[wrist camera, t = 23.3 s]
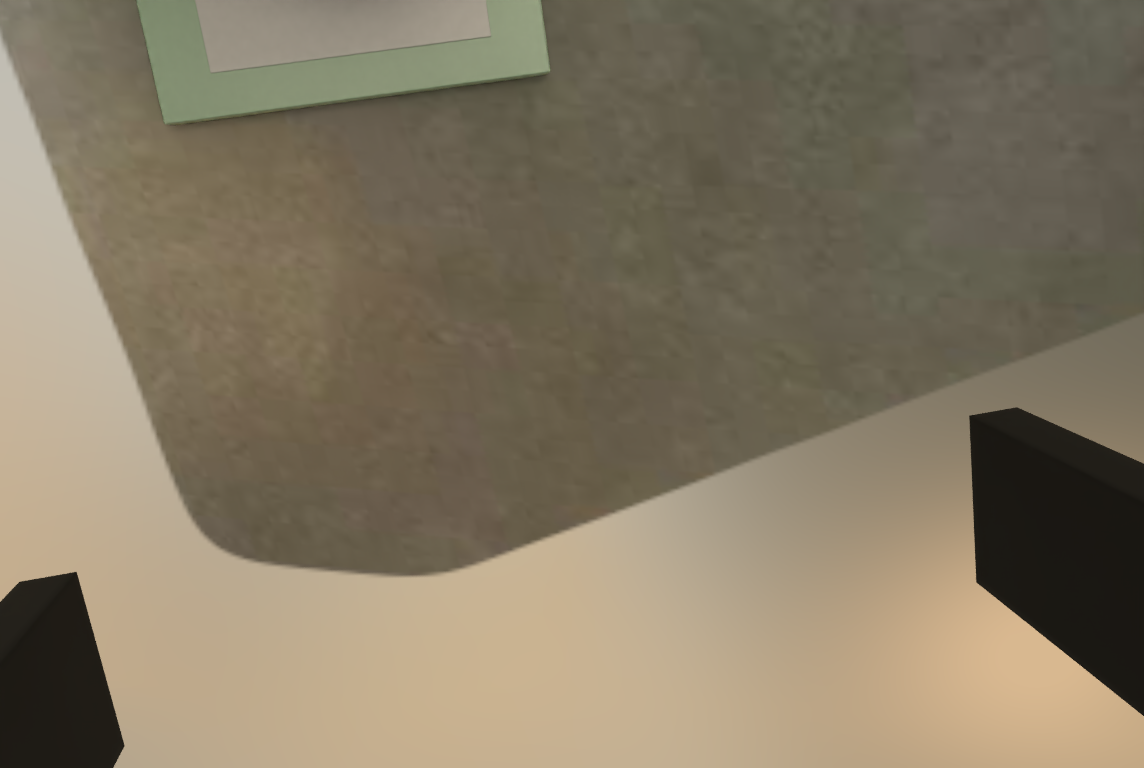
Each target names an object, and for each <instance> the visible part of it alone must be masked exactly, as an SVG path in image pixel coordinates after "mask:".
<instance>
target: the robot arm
mask: <svg viewBox="0 0 1144 768" xmlns="http://www.w3.org/2000/svg"><path fill="white" fill-rule="evenodd" d="M969 417H970V441H971V465H972V487H973V509H974V510H973V512H974V534H975V535H974V536H975V560H976V582H977V583H978V584H979V585H981V586H982V587H983V588H984V589H986V590H987V591H988V592H989V593H991V594H992V595H993V596H994V597H996V598H997V599H998V600H999V601H1001V602H1002V603H1003V604H1004V605H1006V606H1007V607H1008V608H1009V609H1011V610H1012V611H1013V612H1014V613H1016V614H1017V615H1018V616H1019V617H1021V618H1022V619H1023V620H1024V621H1026V622H1027V623H1028V624H1030V625H1031V626H1032V627H1033V628H1035V629H1036V630H1037V631H1038V632H1039V633H1041V634H1042V635H1043V636H1044V637H1046V638H1047V639H1048V640H1049V641H1051V642H1052V643H1053V644H1054V645H1056V646H1057V647H1058V648H1059V649H1061V650H1062V651H1063V652H1064V653H1066V654H1067V655H1068V656H1069V657H1071V658H1072V659H1073V660H1074V661H1076V662H1077V663H1078V664H1079V665H1081V666H1082V667H1083V668H1084V669H1086V670H1087V671H1088V672H1090V673H1091V674H1092V675H1093V676H1095V677H1096V678H1097V679H1098V680H1099V681H1101V682H1102V683H1103V684H1104V685H1106V686H1107V687H1108V688H1109V689H1111V690H1112V691H1113V692H1114V693H1116V694H1117V695H1118V696H1119V697H1121V698H1122V699H1123V700H1124V701H1126V702H1127V703H1128V704H1129V705H1131V706H1132V707H1133V708H1134V709H1136V710H1137V711H1138V712H1139V713H1141V714H1142V715H1143V716H1144V464H1143V463H1141V462H1139V461H1136V460H1134V459H1132V458H1130V457H1127V456H1125V455H1123V454H1120V453H1118V452H1116V451H1114V450H1112V449H1109V448H1107V447H1105V446H1102V445H1100V444H1098V443H1096V442H1094V441H1091V440H1089V439H1087V438H1084V437H1082V436H1080V435H1078V434H1076V433H1073V432H1071V431H1069V430H1066V429H1064V428H1062V427H1060V426H1058V425H1055V424H1053V423H1051V422H1049V421H1046V420H1044V419H1042V418H1039V417H1037V416H1035V415H1033V414H1031V413H1028V412H1026V411H1024V410H1022V409H1019V408H1011V409H1005V410H1000V411H994V412H988V413H982V414H977V415H971V416H969ZM123 748H124V742H123V739H122V735H121V731H120V728H119V724H118V720H117V717H116V713H115V710H114V706H113V702H112V699H111V695H110V691H109V688H108V685H107V681H106V677H105V673H104V670H103V666H102V662H101V659H100V655H99V652H98V648H97V645H96V641H95V637H94V633H93V630H92V627H91V623H90V619H89V616H88V612H87V608H86V605H85V601H84V597H83V594H82V590H81V586H80V583H79V579H78V575H77V572H74V573H68V574H62V575H56V576H51V577H45V578H39V579H34V580H28V581H22V582H19V583H18V584H17V585H16V586H15V587H14V588H13V589H12V590H11V591H10V592H9V593H8V594H7V596H6V597H5V598H4V599H3V600H2V601H1V602H0V768H113V767H114V765H115V763H116V761H117V759H118V757H119V755H120V753H121V752H122V750H123Z"/></svg>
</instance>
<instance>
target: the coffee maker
mask: <svg viewBox="0 0 1144 768" xmlns="http://www.w3.org/2000/svg"><path fill="white" fill-rule="evenodd" d="M136 2H137V7H138V11H139V15H140V20H141V24H142V29H143V33H144V37H145V42H146V46H147V51H148V55H149V59H150V64H151V68H152V73H153V77H154V81H155V86H156V90H157V95H158V99H159V103H160V108H161V112H162V116H163V121H164V124H168V125H181V124H188V123H195V122H203V121H210V120H217V119H225V118H232V117H239V116H247V115H254V114H262V113H269V112H276V111H284V110H291V109H298V108H306V107H313V106H320V105H328V104H335V103H342V102H350V101H357V100H365V99H372V98H379V97H387V96H394V95H401V94H409V93H416V92H423V91H431V90H438V89H446V88H453V87H460V86H468V85H475V84H482V83H490V82H497V81H504V80H512V79H519V78H526V77H534V76H541V75H546V74H547V73H549V72H550V63H549V56H548V49H547V41H546V34H545V27H544V19H543V12H542V5H541V0H136Z"/></svg>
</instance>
